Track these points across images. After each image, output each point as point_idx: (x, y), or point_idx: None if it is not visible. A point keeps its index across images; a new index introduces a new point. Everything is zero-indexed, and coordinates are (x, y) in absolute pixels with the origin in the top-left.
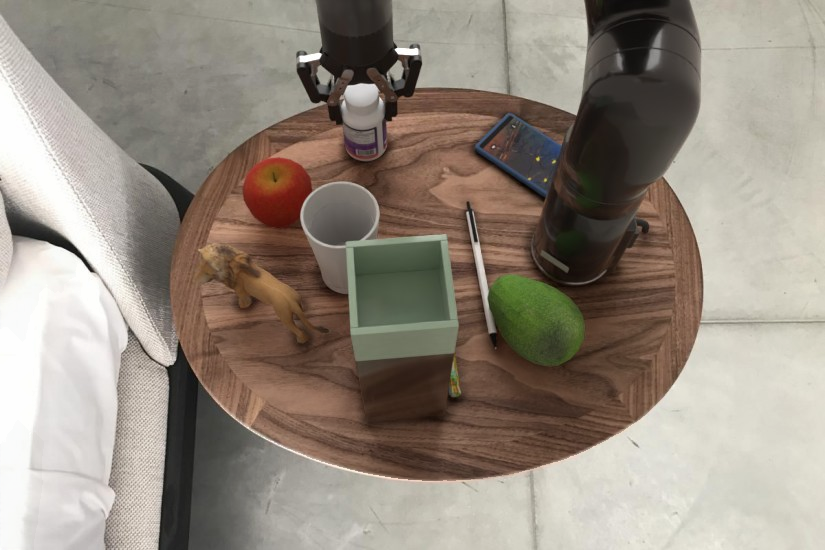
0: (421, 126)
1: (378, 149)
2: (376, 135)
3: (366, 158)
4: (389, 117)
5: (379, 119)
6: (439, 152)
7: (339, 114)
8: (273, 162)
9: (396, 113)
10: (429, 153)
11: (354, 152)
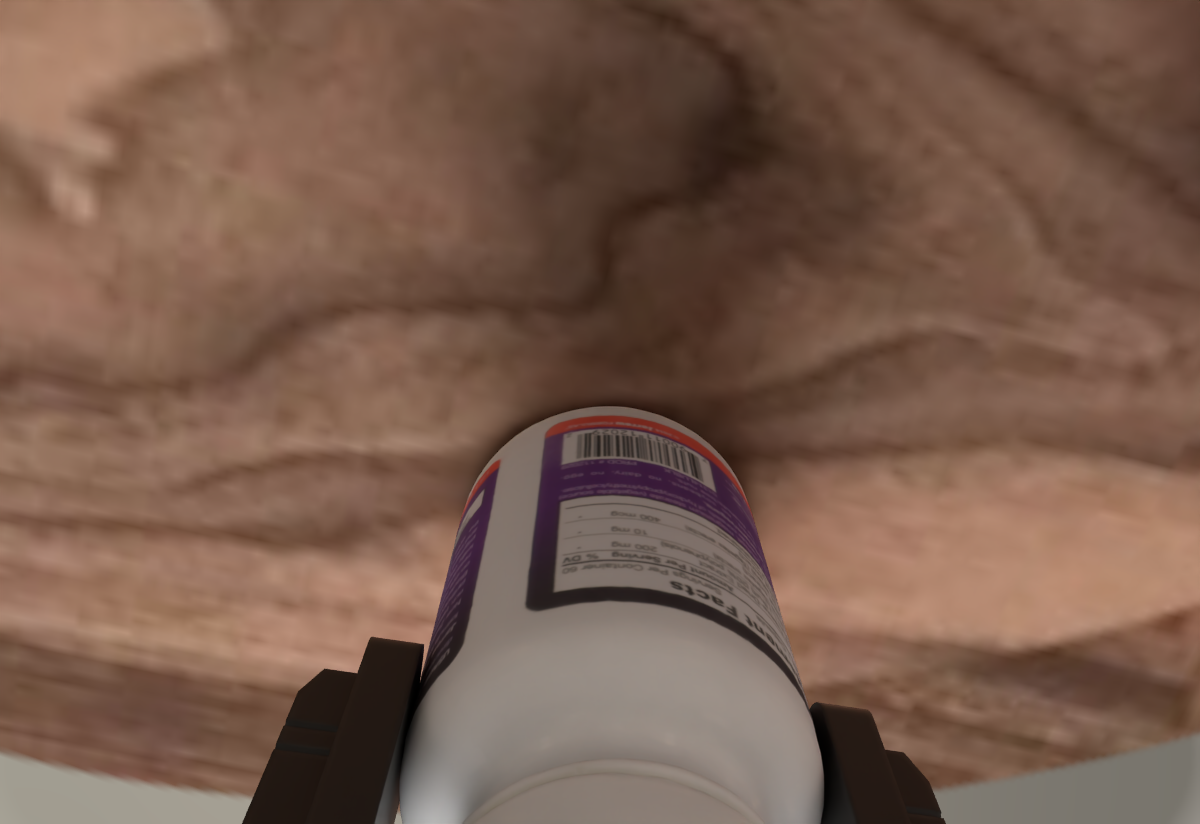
0: (210, 582)
1: (540, 455)
2: (540, 542)
3: (639, 420)
4: (382, 674)
5: (481, 673)
6: (108, 357)
7: (861, 806)
8: None
9: (305, 698)
10: (182, 366)
11: (720, 476)
